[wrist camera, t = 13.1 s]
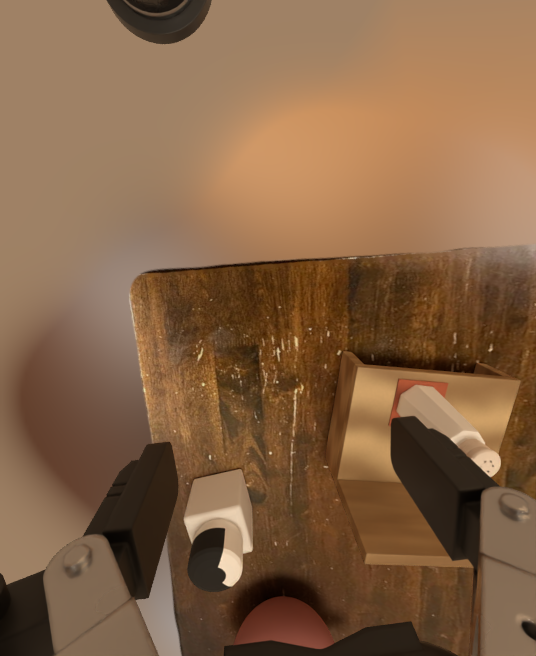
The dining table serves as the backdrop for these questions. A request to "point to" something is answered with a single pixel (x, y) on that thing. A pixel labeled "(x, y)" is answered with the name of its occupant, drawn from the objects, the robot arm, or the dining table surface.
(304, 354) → the dining table surface
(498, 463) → the pepper shaker
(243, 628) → the balloon
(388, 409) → the shelf
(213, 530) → the medicine bottle
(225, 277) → the dining table surface
